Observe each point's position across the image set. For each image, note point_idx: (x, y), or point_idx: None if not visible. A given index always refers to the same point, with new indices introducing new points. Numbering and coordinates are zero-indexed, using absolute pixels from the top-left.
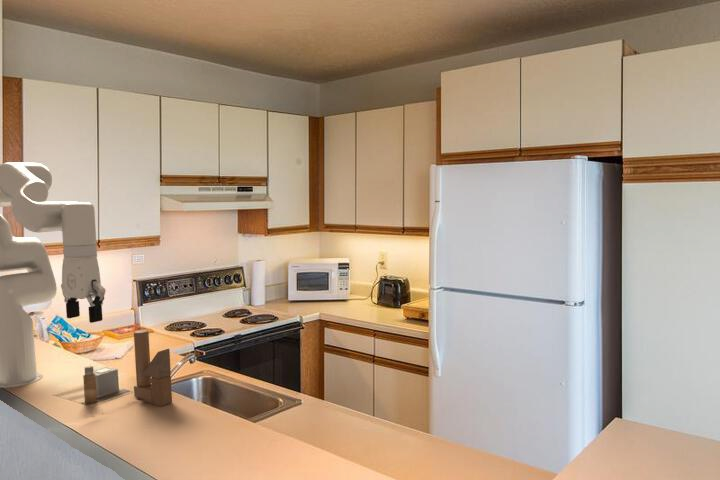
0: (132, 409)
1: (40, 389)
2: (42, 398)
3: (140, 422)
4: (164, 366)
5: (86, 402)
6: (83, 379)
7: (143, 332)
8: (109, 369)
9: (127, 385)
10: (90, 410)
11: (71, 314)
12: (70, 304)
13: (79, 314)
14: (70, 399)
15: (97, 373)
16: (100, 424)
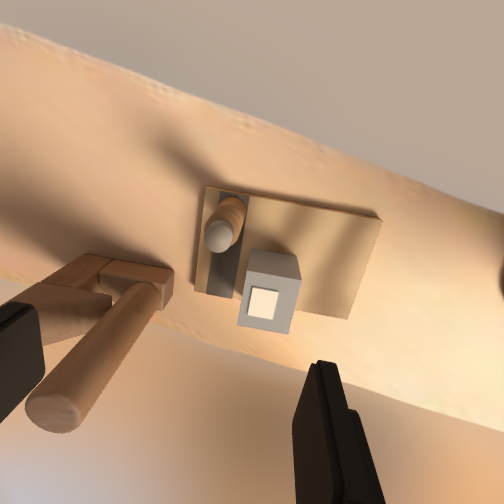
0: (127, 222)
1: (463, 256)
2: (404, 209)
3: (43, 167)
4: None
5: (232, 197)
6: (233, 214)
7: (26, 406)
8: (252, 314)
9: (263, 330)
10: (212, 185)
11: (308, 397)
12: (323, 495)
13: (293, 433)
14: (301, 208)
15: (262, 283)
16: (112, 123)
